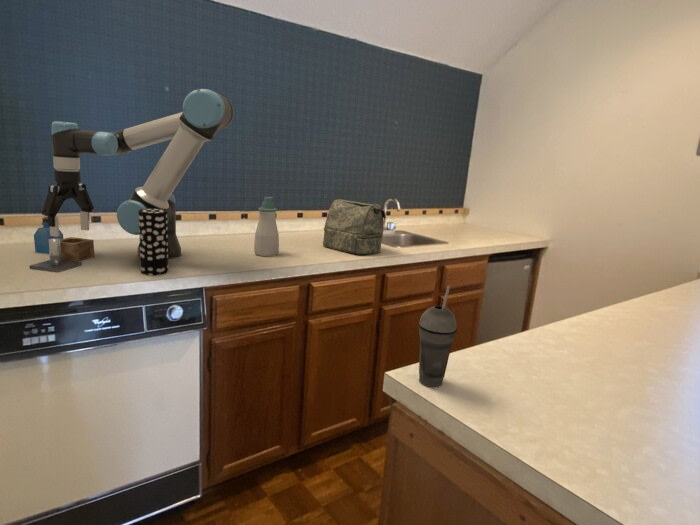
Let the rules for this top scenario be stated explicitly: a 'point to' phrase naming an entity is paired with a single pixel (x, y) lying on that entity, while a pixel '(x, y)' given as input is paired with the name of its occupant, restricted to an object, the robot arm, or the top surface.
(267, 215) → the soap bottle
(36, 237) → the perfume bottle
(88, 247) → the open wooden crate
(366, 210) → the lunch bag
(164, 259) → the white-spotted black cylinder
